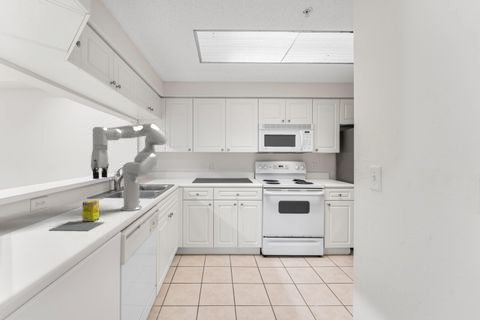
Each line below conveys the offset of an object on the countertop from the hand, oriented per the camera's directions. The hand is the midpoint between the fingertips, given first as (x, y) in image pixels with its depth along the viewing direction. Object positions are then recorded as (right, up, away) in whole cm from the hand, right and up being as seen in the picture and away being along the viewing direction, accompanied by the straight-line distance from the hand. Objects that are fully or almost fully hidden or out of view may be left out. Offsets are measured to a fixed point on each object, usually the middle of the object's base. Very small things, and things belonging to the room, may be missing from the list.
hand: (100, 178), depth 144 cm
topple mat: (-1, -23, -19) cm, 30 cm away
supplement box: (0, -23, -8) cm, 25 cm away
